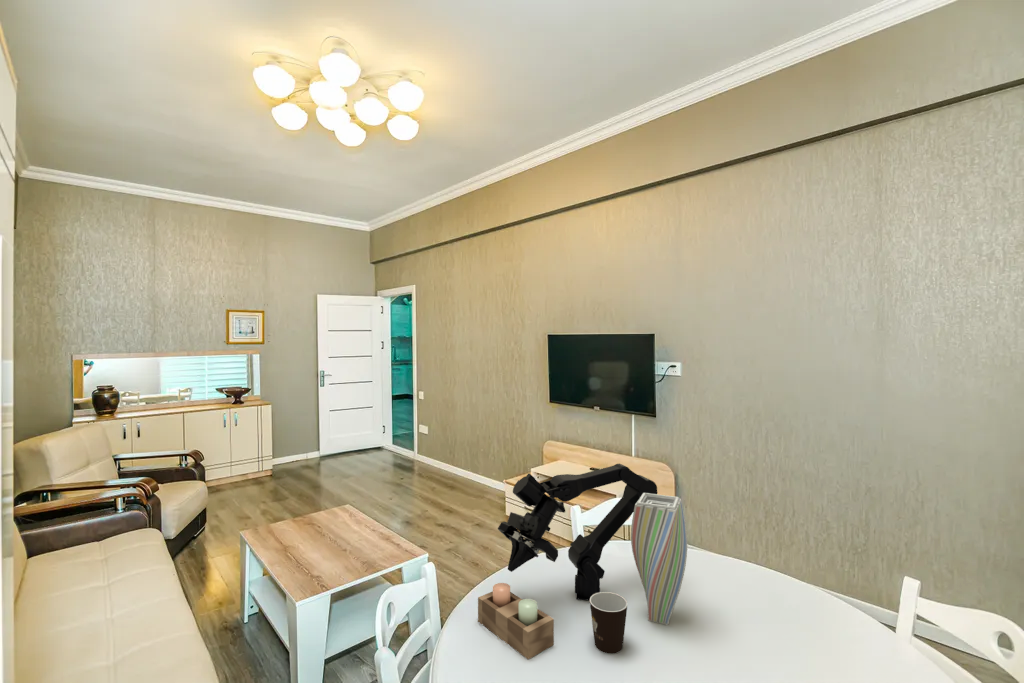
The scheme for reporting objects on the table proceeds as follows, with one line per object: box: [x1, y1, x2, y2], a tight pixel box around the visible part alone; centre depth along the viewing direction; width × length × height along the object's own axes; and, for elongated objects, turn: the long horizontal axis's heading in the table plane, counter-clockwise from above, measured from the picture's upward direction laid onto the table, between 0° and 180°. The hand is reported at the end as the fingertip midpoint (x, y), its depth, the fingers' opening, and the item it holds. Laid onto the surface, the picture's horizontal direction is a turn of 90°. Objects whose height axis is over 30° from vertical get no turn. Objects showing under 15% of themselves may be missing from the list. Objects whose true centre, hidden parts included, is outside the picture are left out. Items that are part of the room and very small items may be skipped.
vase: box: [630, 493, 688, 626], centre depth 120 cm, size 14×14×30 cm
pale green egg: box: [519, 598, 538, 626], centre depth 110 cm, size 4×4×5 cm
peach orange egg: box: [492, 582, 511, 608], centre depth 118 cm, size 4×4×5 cm
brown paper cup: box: [589, 591, 628, 655], centre depth 111 cm, size 12×9×10 cm
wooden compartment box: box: [477, 590, 555, 660], centre depth 114 cm, size 8×19×6 cm, turn 40°
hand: (509, 570), depth 120 cm, fingers closed
